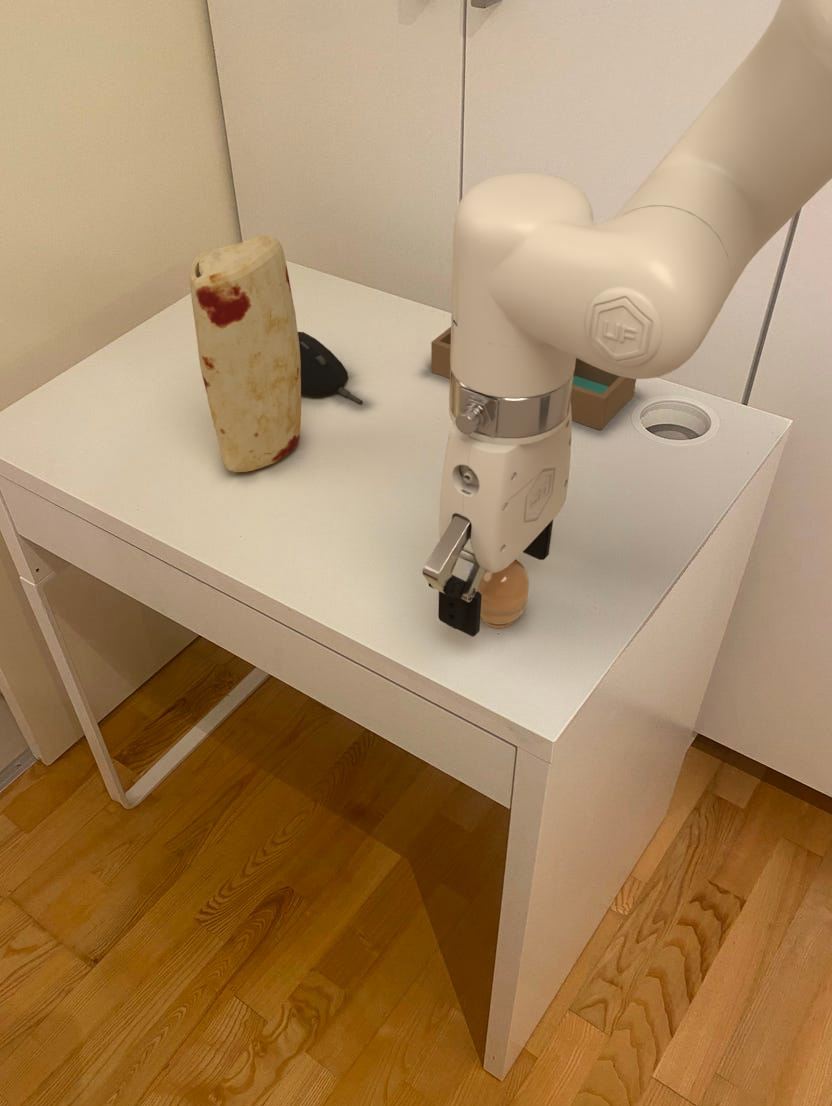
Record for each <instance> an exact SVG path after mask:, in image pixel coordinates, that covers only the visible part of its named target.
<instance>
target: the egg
mask: <svg viewBox="0 0 832 1106" xmlns="http://www.w3.org/2000/svg"><path fill="white" fill-rule="evenodd" d="M529 589H530V580H529V575H528V571H527V569H526V568H525V566H524V565H523V564H522V563H521V562H520V561H519V560H517V558H516V559H515V560H514V561H513V562H512V563H511V564H510V565H509V566H508V567H507V568H505V569H504V570H502V571H500V572H497V573H491V572H489V571H487V570H485V572H484V575H483V577H482V580H481V582H480V584H479V587H478V589H477V591H478V592H479V593H480V594H482V599H481V614H480V619H481V621H482V622H483V623H484V624H485V625H486V626H487V627H491V628H493V629H504V628H508V627H510V626H511V625H512V624H514V622H515V621H516V620H517V619H518V618H520V616H521V615H522V614H523V613H524V611H525V609H526V607H527V604H528V600H529Z"/></svg>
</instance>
